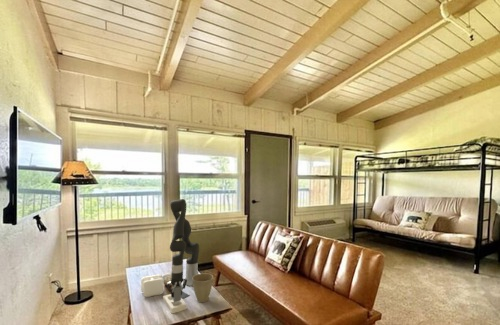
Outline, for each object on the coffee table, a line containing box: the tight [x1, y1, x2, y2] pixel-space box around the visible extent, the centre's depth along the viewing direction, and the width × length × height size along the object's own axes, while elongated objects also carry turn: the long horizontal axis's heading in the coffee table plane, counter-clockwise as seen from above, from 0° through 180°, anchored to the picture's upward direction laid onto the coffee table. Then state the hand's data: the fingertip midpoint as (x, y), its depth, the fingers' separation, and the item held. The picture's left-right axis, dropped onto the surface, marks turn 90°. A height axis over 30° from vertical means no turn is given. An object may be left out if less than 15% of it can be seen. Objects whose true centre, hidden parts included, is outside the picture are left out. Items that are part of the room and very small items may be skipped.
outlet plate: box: [162, 293, 188, 314], centre depth 175 cm, size 10×20×3 cm, turn 34°
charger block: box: [172, 286, 181, 302], centre depth 172 cm, size 4×4×9 cm
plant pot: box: [192, 272, 214, 303], centre depth 183 cm, size 15×15×16 cm
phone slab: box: [181, 290, 190, 300], centre depth 190 cm, size 6×11×1 cm, turn 50°
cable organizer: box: [140, 274, 165, 298], centre depth 191 cm, size 15×11×12 cm
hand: (176, 296), depth 172 cm, fingers closed on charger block, 4 cm apart
